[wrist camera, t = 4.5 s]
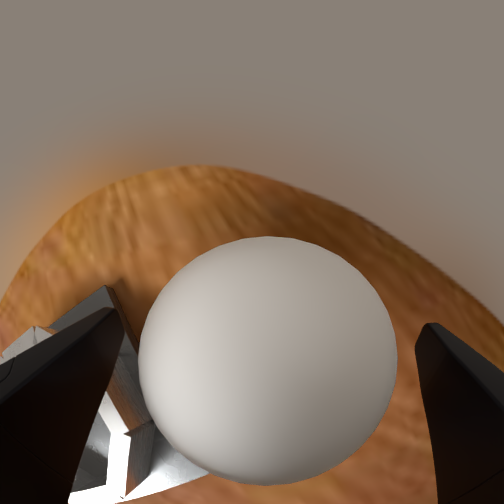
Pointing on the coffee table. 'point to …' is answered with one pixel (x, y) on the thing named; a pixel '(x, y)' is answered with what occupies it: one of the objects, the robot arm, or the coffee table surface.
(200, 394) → the lightbulb
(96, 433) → the lamp base
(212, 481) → the coffee table surface
